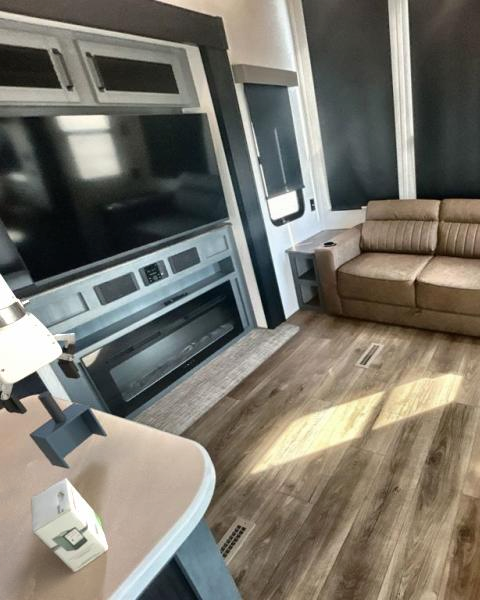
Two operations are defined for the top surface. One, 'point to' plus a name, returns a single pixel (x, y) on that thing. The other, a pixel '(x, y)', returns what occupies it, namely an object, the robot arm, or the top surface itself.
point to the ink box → (68, 525)
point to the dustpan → (64, 429)
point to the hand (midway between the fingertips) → (48, 393)
